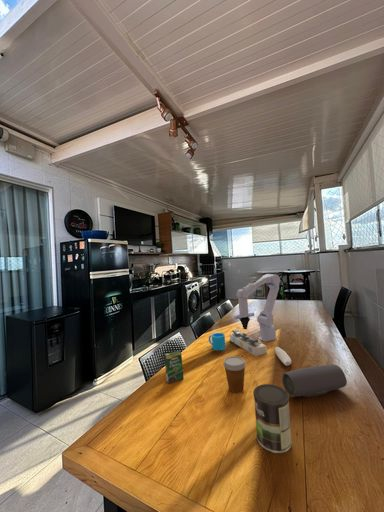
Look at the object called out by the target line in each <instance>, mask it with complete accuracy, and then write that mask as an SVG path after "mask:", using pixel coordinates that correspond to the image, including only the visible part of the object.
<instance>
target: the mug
mask: <svg viewBox="0 0 384 512" xmlns="http://www.w3.org/2000/svg"><path fill="white" fill-rule="evenodd" d="M208 342H209V345H211V347H212V349H213V350H214V351H218V350H219V351H218V352H220V350H221V351H224V350H226V336H225V333H222V332H215V333H212V334H210V335H209V337H208Z"/></svg>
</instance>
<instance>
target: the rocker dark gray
mask: <svg viewBox="0 0 384 512" xmlns="http://www.w3.org/2000/svg"><path fill="white" fill-rule="evenodd" d="M241 333H242V334H240V336H241V337H242V338H243V339H244V340H247V339H249V337H250V336H249V335H248V334H246V333H245V332H241Z"/></svg>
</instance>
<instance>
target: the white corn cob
mask: <svg viewBox="0 0 384 512" xmlns="http://www.w3.org/2000/svg"><path fill="white" fill-rule="evenodd" d="M274 352H275V354H276V356H277V357H278V359H279V360H280V362H281V363H282V364H283V365H285V367H286V366H290V365H291V364H292V359H291V357H290V356H289V355H288V354H287V352H286V351H285V350H284V349H282V348H280V347H279V346H275V349H274Z"/></svg>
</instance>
